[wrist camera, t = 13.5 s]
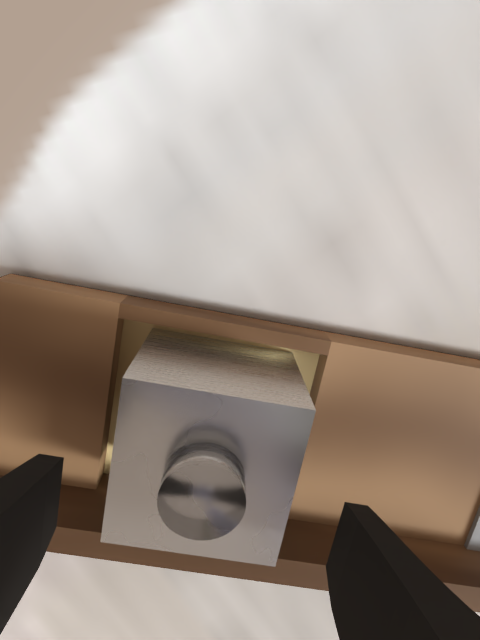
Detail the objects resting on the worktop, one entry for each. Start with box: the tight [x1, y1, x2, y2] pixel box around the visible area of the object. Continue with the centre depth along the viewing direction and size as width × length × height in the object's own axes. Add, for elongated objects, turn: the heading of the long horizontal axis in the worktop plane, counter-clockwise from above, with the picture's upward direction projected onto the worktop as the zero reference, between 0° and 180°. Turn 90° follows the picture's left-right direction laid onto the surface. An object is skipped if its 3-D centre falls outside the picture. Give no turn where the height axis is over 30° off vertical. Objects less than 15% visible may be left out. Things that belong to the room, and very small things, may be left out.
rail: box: [0, 274, 480, 612], centre depth 15 cm, size 8×24×3 cm, turn 79°
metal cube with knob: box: [100, 328, 316, 567], centre depth 14 cm, size 5×5×6 cm
